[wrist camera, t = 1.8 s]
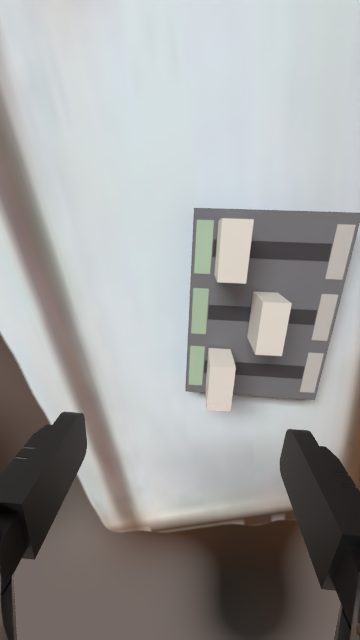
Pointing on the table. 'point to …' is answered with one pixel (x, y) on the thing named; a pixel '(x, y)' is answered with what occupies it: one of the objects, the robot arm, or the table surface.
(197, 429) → the table surface
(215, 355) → the breaker far
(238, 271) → the block
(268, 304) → the block
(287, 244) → the breaker panel
